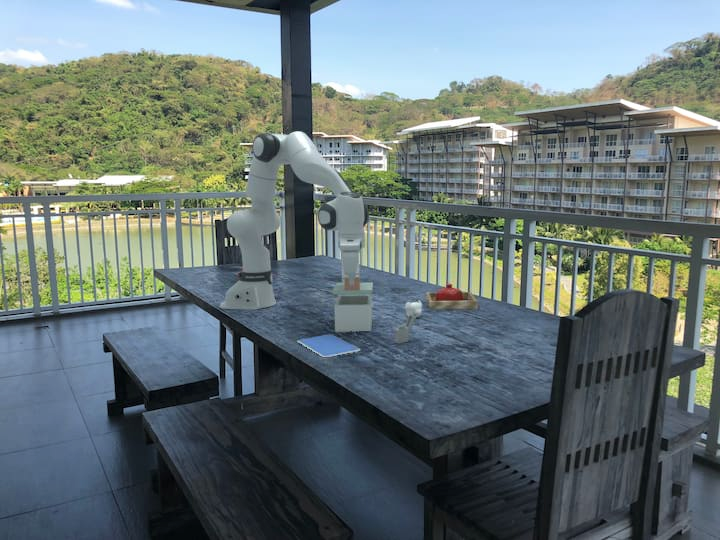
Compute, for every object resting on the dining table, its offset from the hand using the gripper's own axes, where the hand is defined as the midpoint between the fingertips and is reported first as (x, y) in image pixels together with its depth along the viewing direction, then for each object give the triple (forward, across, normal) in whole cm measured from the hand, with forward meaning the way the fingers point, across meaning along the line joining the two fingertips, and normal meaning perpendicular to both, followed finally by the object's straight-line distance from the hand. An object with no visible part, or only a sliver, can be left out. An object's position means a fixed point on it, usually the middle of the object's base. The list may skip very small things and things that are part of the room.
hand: (352, 283), depth 182 cm
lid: (+3, -6, 0) cm, 7 cm away
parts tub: (+16, -6, 0) cm, 17 cm away
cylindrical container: (+16, -40, -3) cm, 43 cm away
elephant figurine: (+16, -18, +21) cm, 32 cm away
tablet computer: (+17, +18, -7) cm, 25 cm away
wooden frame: (+16, -38, +37) cm, 55 cm away
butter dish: (+16, -38, +36) cm, 55 cm away
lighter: (+16, +12, +17) cm, 27 cm away
